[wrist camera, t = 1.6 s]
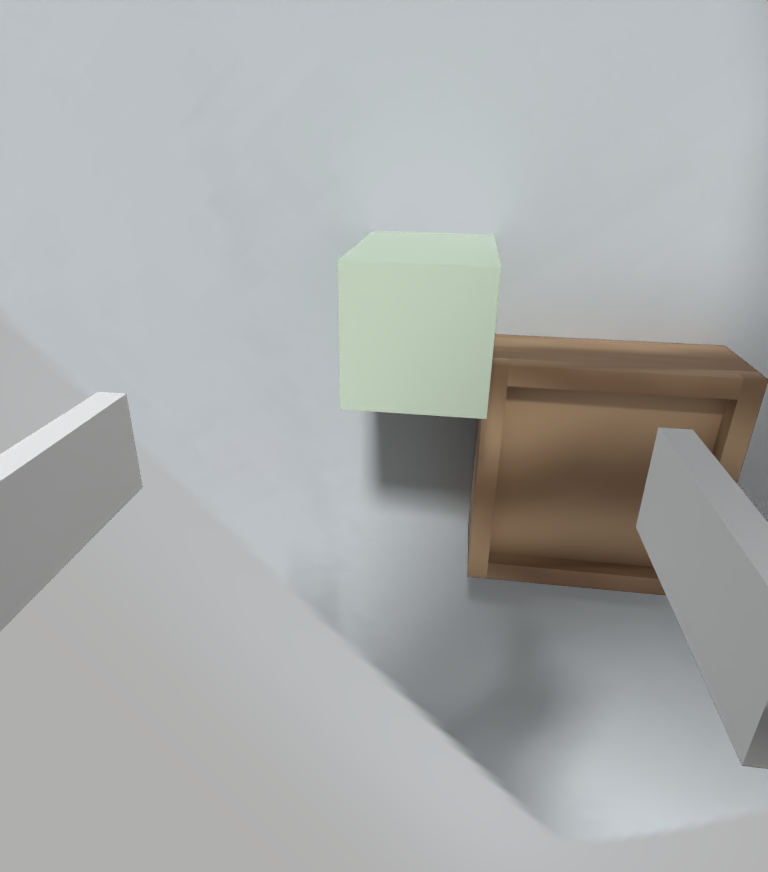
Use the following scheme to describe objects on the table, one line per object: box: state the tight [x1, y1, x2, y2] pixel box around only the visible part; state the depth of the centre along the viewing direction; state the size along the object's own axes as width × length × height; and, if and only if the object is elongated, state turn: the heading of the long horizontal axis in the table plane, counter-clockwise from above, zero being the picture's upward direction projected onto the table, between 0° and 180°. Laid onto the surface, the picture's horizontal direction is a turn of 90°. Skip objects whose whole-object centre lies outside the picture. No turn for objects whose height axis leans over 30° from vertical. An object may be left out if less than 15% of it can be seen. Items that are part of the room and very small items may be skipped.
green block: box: [337, 231, 501, 419], centre depth 27 cm, size 6×6×9 cm
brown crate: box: [468, 334, 768, 595], centre depth 32 cm, size 12×12×5 cm
